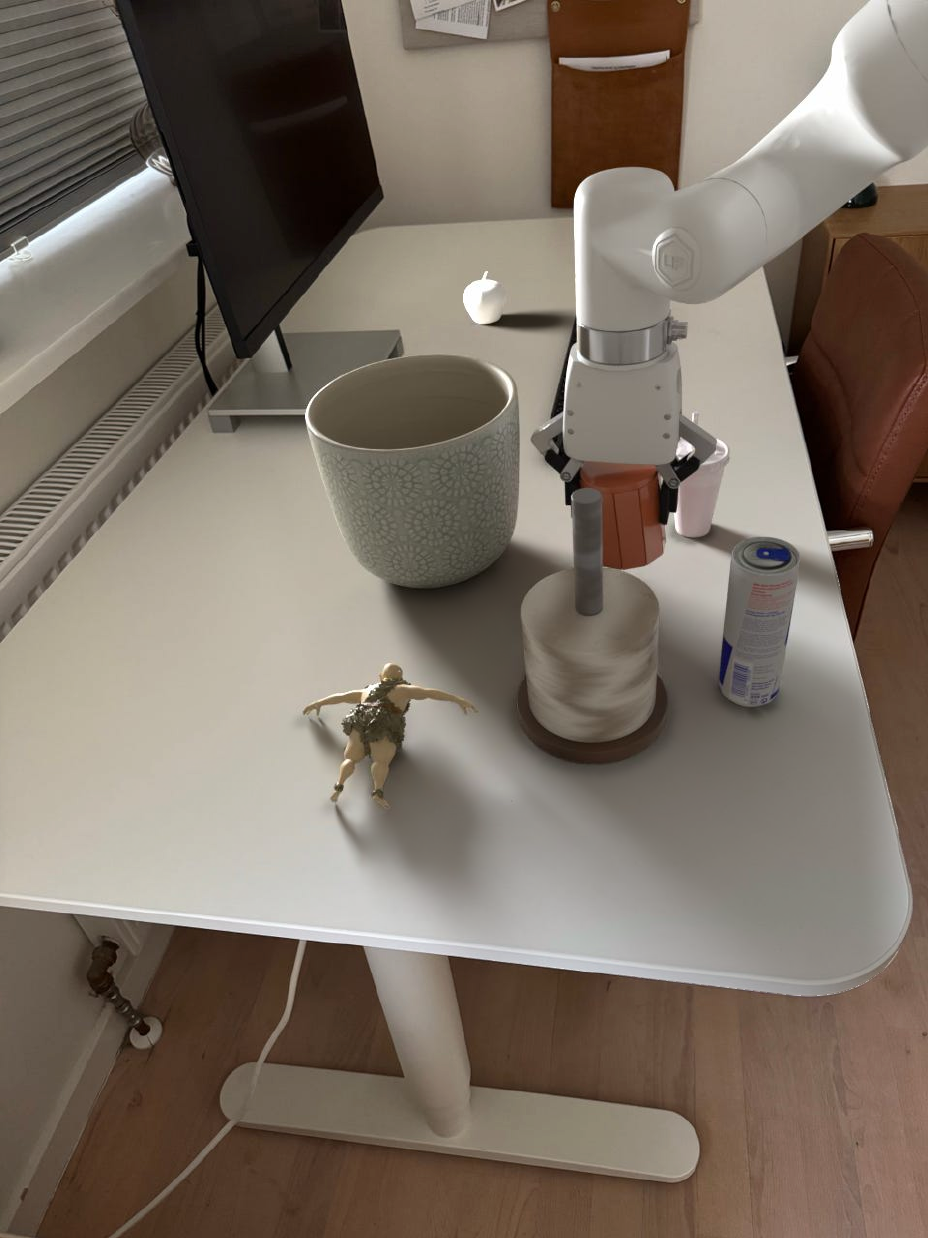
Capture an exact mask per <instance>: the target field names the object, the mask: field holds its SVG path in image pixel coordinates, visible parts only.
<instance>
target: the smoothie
mask: <svg viewBox="0 0 928 1238" xmlns="http://www.w3.org/2000/svg"><path fill="white" fill-rule="evenodd" d="M691 421H692V422H693V423H695V424H696V425H698V426H699V411H697V410H694V411H693V412H692V418H691ZM715 438H716V440H717V444H716V450H715V452H714V453H713V454H712V455H711V456H710V457H709V458H708V459H707V460H706V461H705V462H704V463H702V464H701V465H700V466H699V469H698V470H697V471H696V472H694V473H693V474H692V475H690V476H689V477H688V478H686V479H685V480H684V481H682V482H681V483H680V486H679V489H678V505H677V511H676V513H673V516H674V527H675V531H676V532H677V533H678V534H679V535H681V536H683V537H687V538H700V537H704V536H706V535H707V534H708V533H710V531H711V526H712V522H713V519H714V514H715V510H716V505H717V501H718V498H719V497H718V496H719V493H720V488H721V484H722V480H723V476H724V472H725V467H726V466H727V465H728V464H729V462H730V459H731V457H730V453H731V452H730V447H729V446H728V444H727V443H726V442H724V441H723V440H721V439H719V438H717V437H715ZM694 448H695V447H694V446H693V445H691V444H690V443H688V442H687V441H686V440H684V439H683V438H681V437H680V440H679V442H678V446H677V450H676V455H677V457H678V458H679V460H680V459H682V458H683V457H684V456H686V455H687V454H688V453H690V452H691V451H693V450H694Z"/></svg>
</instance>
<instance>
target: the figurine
mask: <svg viewBox="0 0 928 1238" xmlns="http://www.w3.org/2000/svg"><path fill="white" fill-rule="evenodd" d="M381 671H382V672H379V673H378V677H379V680H380V682H378V683H375V684H373V683H372V684H370V685H369V684H368V685H367V686H365V687H364V688H362V689H355V690H354V689H353V690H350V691H347V692H340V693H339V692H338V693H334V694H332V695H329V696H327V697H324V698H322V699H319V700H318V699H316V700H315V701H314V702H312V703H310V704H308V705H306V706H305V707H304V708H303V710H302V711H301V712H302V715H303V716H305V715H307V716H308V715H309V714H311V712H312V711H313V710H316V716H319V715H320V712H321V708H322V707H324V706H329V705H340V704H342V703H346V704H348V705H349V704H350V705H352V704H353V705H356V707H355V708H351V709H350V710H349V713H350V714H347V715H346V716H345V717H344V718H342V720H341V721H342V722H341V723H340V724H341V725H342V726H343V727H342V728H343V729H342V733H343V734H345V735H346V736H348V743H347V745H346V747H345V750H344V752H343V757H344V761H343V762H342V763H341V764H340V768H339V776H338V777H339V778H338V781H337V782H335V783H334V786H333V789H334V791H333V793H332V795H331V796H330V798H329V800H330V801H331V802H332V803H337V802H338V799H339V796H340V793H342V792H343V791H344V788H345V785H344V784H345V782H347V781H346V780H348V779H349V778H350V777H351V776H352V775H353V774H354V772H355V770H356V764H359V763H361V762H363V761H364V760H365V759H366V758H367V757H369V758H370V759H371V760H372V761H373V762H372V764H371V766H370V773H371V776H372V779H373V781H374V790H372V791H371V793H370V795H371V798H372V801H373V802H375V803H378V804H379V805H380V806H382V808H384V809H386V810H390V809H391V806H390V804H388V803H387V801H386V800H385V799H384V795H385V794H384V790H383V788H384V784H385V781H386V779H387V777H388V775H389V765H390V764H391V762H392V760H393V758H394V757H395V755H396V754H397V753H398V752H399V749H400V748H403V742H404V741H405V732H406V730H405V728H406V727H407V722H406V716H405V715H406V714H407V713H408V712H409V710H410V707H411V701H412V700H414V701H415V700H416V701H424V700H427V699H430V700H435V701H441V702H449V703H453V704H457V705H459V706H460V708H461V709H462V711H463V714H464V715H465V716H466V715H468V711H467V708H469V709H471V710H472V711H473V712H474V713H475V714H478V713H479V712H478V710H477V709H476V707H475V706H474V705H473V703H472V702H470V701H468V700H466V699H465V698H463V697H460V696H458V695H454V694H451V693H448V692H446V691H444V690H441V689H438V688H425V687H423V686H420V685H416V684H415V685H414V684H412V683H411V682H408V681H407V680H406V679H404V678H403V676H404V675H403V674H404V671H403V669H402V667H400V665H398V664H396V663H393V662H391V663H387V664H385V665H384V667H383V668H382V669H381Z"/></svg>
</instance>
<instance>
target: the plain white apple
mask: <svg viewBox="0 0 928 1238" xmlns="http://www.w3.org/2000/svg"><path fill="white" fill-rule="evenodd" d="M488 273H489V271H488V270H487V271H485V272H484V275H483V277H482V279H481V280H475V281H473V282H471V284H469V285H468V286H467V287H466V288H465V290H464V293H463V304H464V307H465V310H466V311H467V312H468V314H469V316H470V317H471V319H472V320H473V321H474V322H475V323H476V324H480V325H489V324H493V323H496V322H498V321H499V320H500V318H501V317H502V314H503V311H504V308H505V306H506V303H507V291H506V289H505V287H504V286H503V285H502V284H501V283H500V282H499V281H496V280H491V279H487V275H488Z"/></svg>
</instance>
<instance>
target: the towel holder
mask: <svg viewBox="0 0 928 1238" xmlns="http://www.w3.org/2000/svg"><path fill="white" fill-rule="evenodd" d="M571 499H572V518H571V523H572V524H571V525H572V550H573V552H572V553H573V554H572V555H573V568H567V569H563V570H560V571H557V572H554V573H551V574H550V575H547V576H545V577H544V578H542V579H541V580H539V581H538V582H537V583H535V584H534V585H533V586H532V587H531V588H530V589H529V590H528V591H527V593H526V594H525V595H524V597H523V600H522V603H521V606H520V619H521V620H520V621H521V632H522V644H523V645H522V646H523V654H524V655H523V656H524V667H525V668H524V669H525V675H524V676H523V678H522V679H521V682H520V684H519V686H518V690H517V693H516V694H517V695H516V706H517V714H518V715H517V716H518V720H519V724H520V726H521V729H522V730H523V733H524V734H525V735H526V736H527V738H528V739H529V740H530V741H531V742H532V743H533V744H534V745H535V746H536V747H538V749H540V750H541V751H543V752H545V753H546V754H548V755H550V756H553V757H555V758H557V759H560V760H564V761H566V762H571V763H575V764H581V765H582V764H583V765H603V764H612V763H615V762H620V761H624V760H626V759H629V758H631V757H633V756H635V755H638V754H639V753H641V752H642V751H644V750H646V749H647V748H648V747H649V746H650V745H652V744H653V743H654V742H655V741H656V739H658V737H659V736H660V734H661V733H662V732H663V729H664V727H665V725H666V722H667V721H666V720H667V717H668V703H669V702H668V700H669V698H668V692H667V691H668V690H667V688H666V684H665V683H664V681H663V679H662V677H661V676H660V675H659V673H658V659H659V658H658V657H659V656H658V655H659V633H660V631H659V630H660V603H659V600H658V597H657V595H656V594H655V592H654V591H653V590H652V588H651V587H650V585H648V584H647V583H646V582H645V581H643V580H641V579H640V578H639V577H637V576H635V575H633V574H631V573H628V572H626V571H624V570H618V569H613V568H608V567H603V545H602V494H601V492H600V491H598V490H596V489H593V488H582V489H579V490H576V491H575V492H574V493H573V494H572V496H571Z"/></svg>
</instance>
